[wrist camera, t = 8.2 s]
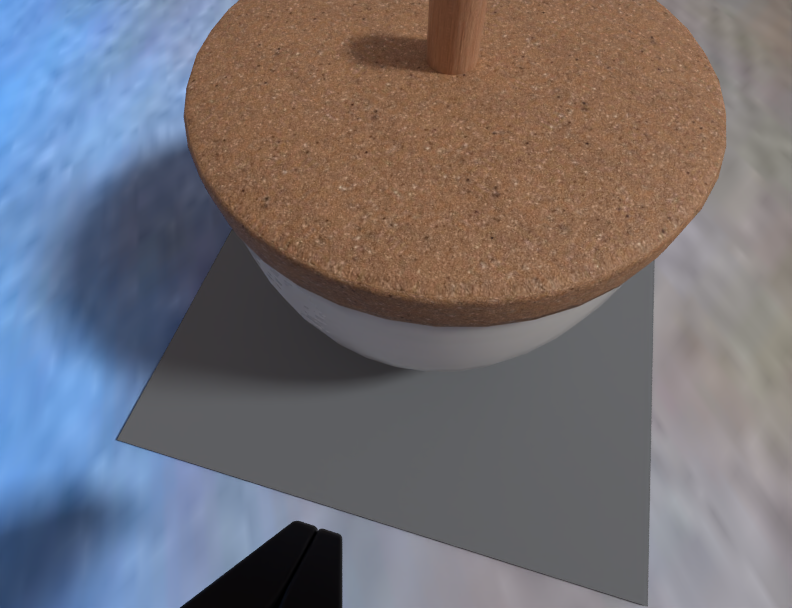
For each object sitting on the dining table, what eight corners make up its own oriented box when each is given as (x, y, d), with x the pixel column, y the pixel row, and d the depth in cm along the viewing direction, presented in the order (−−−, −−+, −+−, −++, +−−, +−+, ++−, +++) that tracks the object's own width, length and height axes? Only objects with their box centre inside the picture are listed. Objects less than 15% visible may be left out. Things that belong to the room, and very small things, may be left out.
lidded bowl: (456, 496, 15) (575, 436, 5) (215, 280, 18) (1, -4, 8) (636, 253, 19) (898, -47, 9) (410, 119, 23) (418, -197, 13)
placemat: (639, 603, 14) (647, 606, 13) (124, 442, 16) (116, 439, 15) (650, 176, 21) (656, 168, 21) (304, 109, 24) (302, 100, 23)
